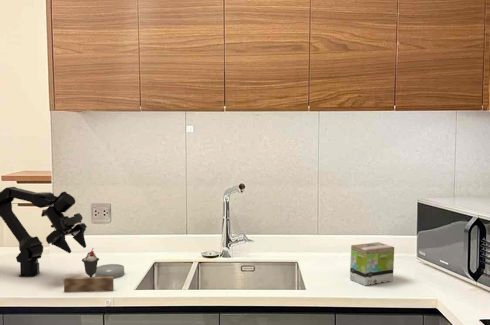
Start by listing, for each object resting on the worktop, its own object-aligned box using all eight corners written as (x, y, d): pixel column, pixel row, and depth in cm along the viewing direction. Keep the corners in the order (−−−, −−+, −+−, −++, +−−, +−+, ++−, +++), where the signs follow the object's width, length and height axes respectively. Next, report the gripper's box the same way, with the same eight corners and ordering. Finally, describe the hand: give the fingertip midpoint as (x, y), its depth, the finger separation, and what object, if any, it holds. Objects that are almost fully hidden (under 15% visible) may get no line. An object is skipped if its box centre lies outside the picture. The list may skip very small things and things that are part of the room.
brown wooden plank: (64, 292, 180) (63, 279, 180) (65, 290, 182) (65, 277, 182) (112, 290, 182) (112, 278, 182) (113, 289, 184) (113, 276, 184)
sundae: (94, 287, 186) (94, 249, 185) (79, 286, 188) (78, 248, 187) (103, 282, 193) (102, 245, 192) (87, 281, 194) (87, 244, 193)
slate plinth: (92, 279, 196) (91, 272, 196) (98, 271, 208) (98, 264, 208) (121, 278, 197) (121, 271, 197) (126, 270, 209) (126, 263, 209)
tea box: (365, 286, 189) (366, 250, 188) (349, 279, 198) (350, 244, 197) (394, 281, 196) (394, 246, 195) (376, 275, 204) (377, 241, 204)
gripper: (53, 211, 185) (75, 243, 182) (84, 204, 202) (104, 234, 200) (36, 227, 188) (57, 259, 185) (68, 219, 205) (87, 248, 203)
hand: (78, 249), depth 193 cm, fingers open, 9 cm apart
